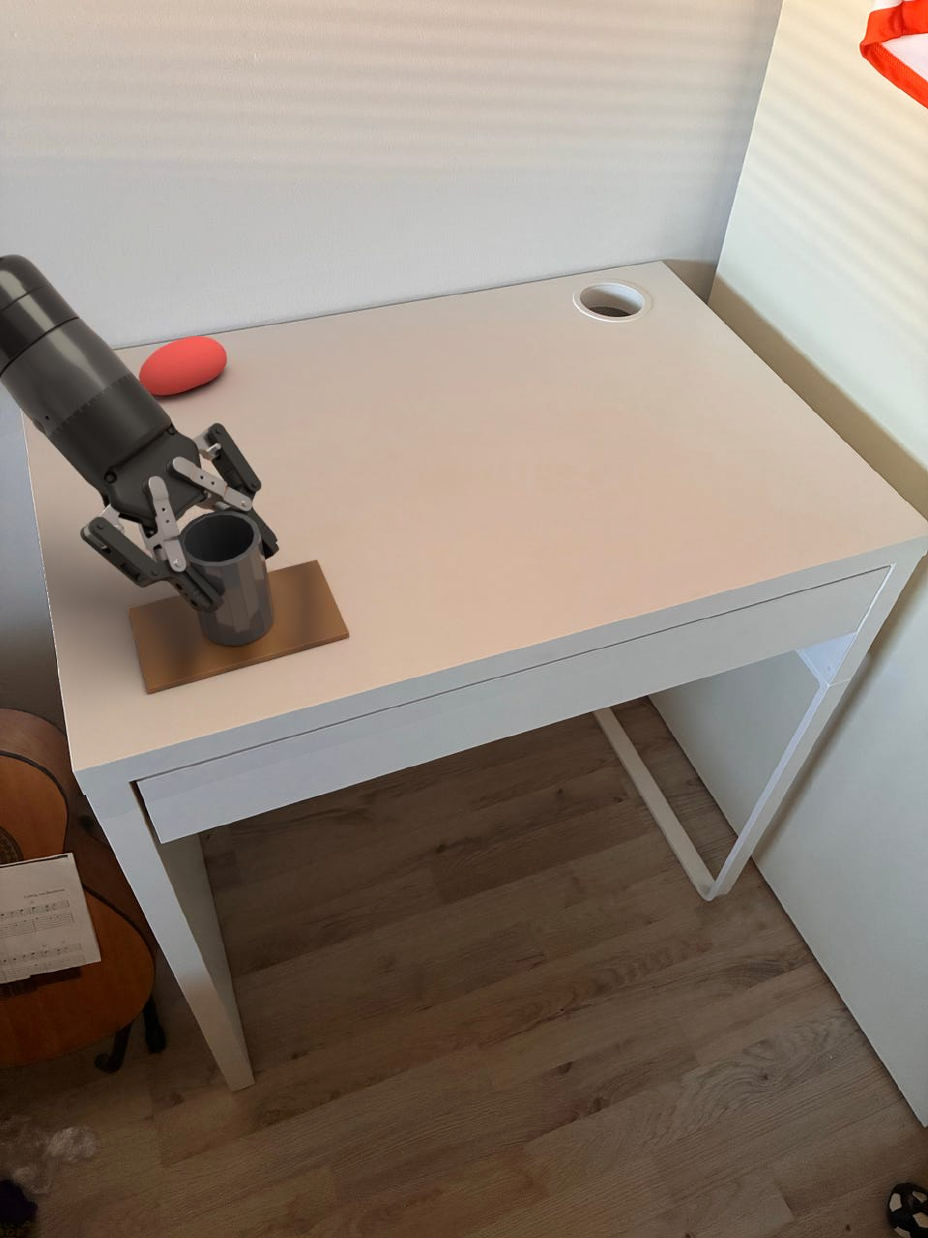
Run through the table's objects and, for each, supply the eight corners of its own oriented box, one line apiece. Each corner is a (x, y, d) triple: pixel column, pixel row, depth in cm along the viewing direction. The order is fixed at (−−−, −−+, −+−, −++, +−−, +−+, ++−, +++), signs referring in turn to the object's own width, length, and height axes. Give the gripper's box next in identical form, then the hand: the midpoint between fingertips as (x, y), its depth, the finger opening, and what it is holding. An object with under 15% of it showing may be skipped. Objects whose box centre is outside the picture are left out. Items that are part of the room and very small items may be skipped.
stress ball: (235, 404, 100) (240, 342, 98) (149, 398, 94) (152, 333, 92) (217, 396, 104) (221, 336, 102) (133, 389, 98) (135, 326, 96)
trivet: (148, 694, 73) (147, 689, 72) (129, 612, 78) (127, 607, 78) (349, 637, 77) (349, 632, 76) (317, 563, 82) (317, 558, 82)
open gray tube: (208, 654, 74) (187, 574, 68) (193, 602, 78) (171, 521, 71) (282, 634, 76) (268, 553, 69) (264, 584, 80) (248, 503, 73)
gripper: (24, 437, 60) (204, 633, 66) (177, 332, 69) (325, 513, 74) (-7, 474, 66) (161, 651, 71) (138, 373, 74) (278, 538, 80)
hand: (244, 580), depth 73 cm, fingers closed on open gray tube, 6 cm apart
